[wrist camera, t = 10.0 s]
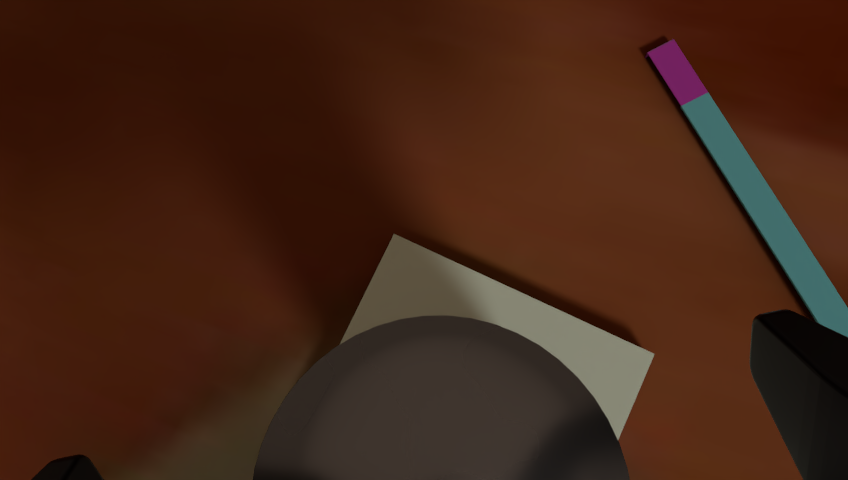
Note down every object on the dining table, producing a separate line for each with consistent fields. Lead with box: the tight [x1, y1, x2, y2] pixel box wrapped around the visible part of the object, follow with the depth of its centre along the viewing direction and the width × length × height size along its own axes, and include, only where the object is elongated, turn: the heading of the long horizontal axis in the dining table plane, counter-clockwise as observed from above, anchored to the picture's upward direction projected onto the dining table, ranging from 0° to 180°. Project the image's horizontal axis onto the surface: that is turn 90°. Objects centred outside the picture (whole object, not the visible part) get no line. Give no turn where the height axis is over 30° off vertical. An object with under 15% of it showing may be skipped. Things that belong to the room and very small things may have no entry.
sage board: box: [340, 234, 654, 440], centre depth 22 cm, size 9×9×1 cm
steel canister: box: [253, 315, 629, 480], centre depth 15 cm, size 5×5×12 cm
